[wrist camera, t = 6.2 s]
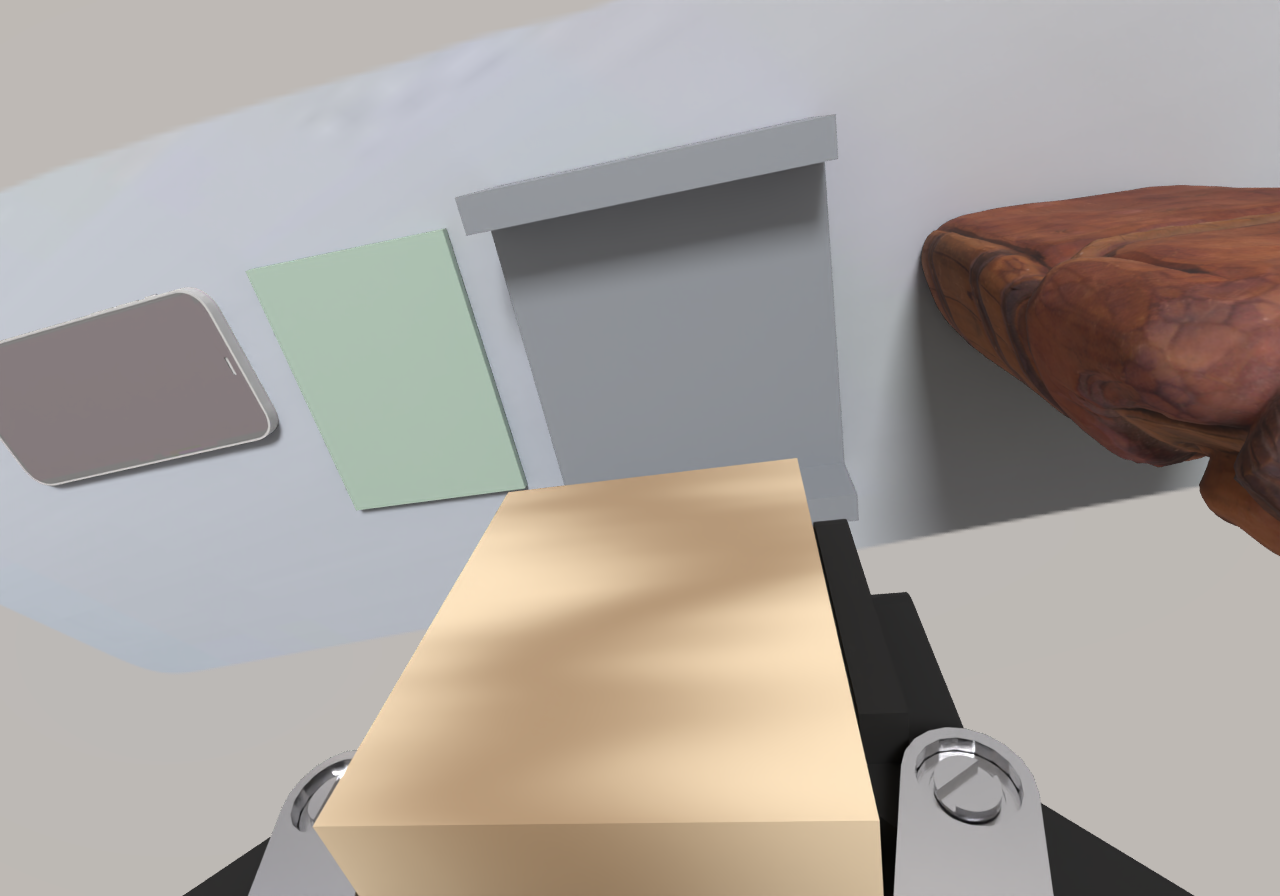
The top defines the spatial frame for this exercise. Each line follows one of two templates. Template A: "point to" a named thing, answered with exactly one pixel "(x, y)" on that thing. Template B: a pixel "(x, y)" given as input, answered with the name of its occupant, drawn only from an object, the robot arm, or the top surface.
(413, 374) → the sage mat
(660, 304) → the gray u-shaped channel
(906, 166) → the top surface
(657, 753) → the beech block
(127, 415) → the smartphone
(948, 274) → the wooden figurine
